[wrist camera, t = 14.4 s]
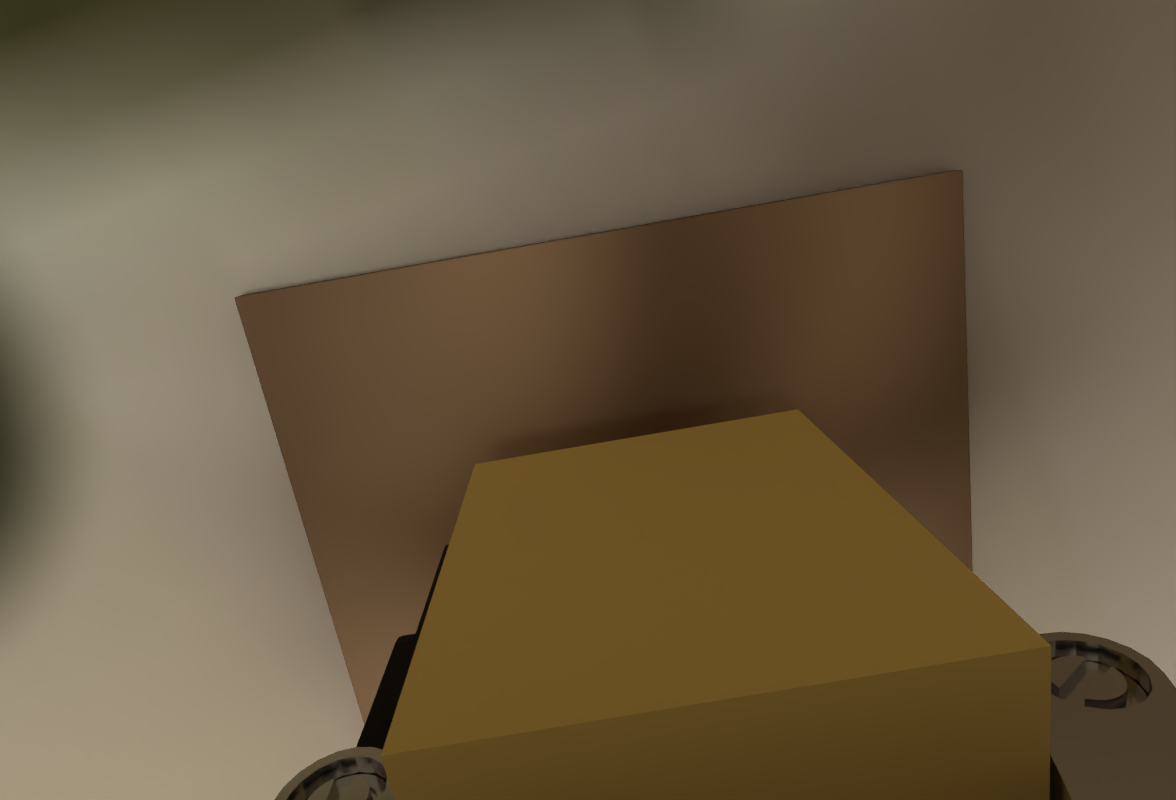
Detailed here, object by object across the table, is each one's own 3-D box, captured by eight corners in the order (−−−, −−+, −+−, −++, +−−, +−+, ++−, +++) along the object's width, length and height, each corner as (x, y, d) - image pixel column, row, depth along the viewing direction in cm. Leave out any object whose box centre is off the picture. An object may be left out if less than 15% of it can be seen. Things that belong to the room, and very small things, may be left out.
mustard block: (798, 409, 11) (1051, 646, 5) (822, 684, 12) (1045, 1107, 7) (475, 463, 11) (381, 755, 5) (535, 732, 13) (511, 1189, 7)
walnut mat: (952, 170, 12) (962, 169, 12) (968, 720, 15) (976, 730, 15) (242, 294, 12) (234, 297, 12) (398, 814, 15) (395, 826, 15)
